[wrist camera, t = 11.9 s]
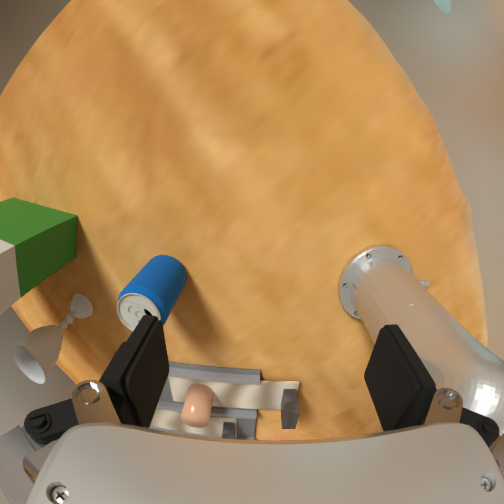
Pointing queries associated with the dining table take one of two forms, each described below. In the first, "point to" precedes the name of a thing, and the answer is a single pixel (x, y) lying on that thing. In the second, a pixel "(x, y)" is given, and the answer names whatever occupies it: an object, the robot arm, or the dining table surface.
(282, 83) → the dining table surface
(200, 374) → the track board
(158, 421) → the strip
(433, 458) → the robot arm
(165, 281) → the beverage can
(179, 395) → the strip
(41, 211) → the hardback book
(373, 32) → the dining table surface
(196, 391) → the light brown rounded piece
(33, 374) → the chalice
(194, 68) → the dining table surface
